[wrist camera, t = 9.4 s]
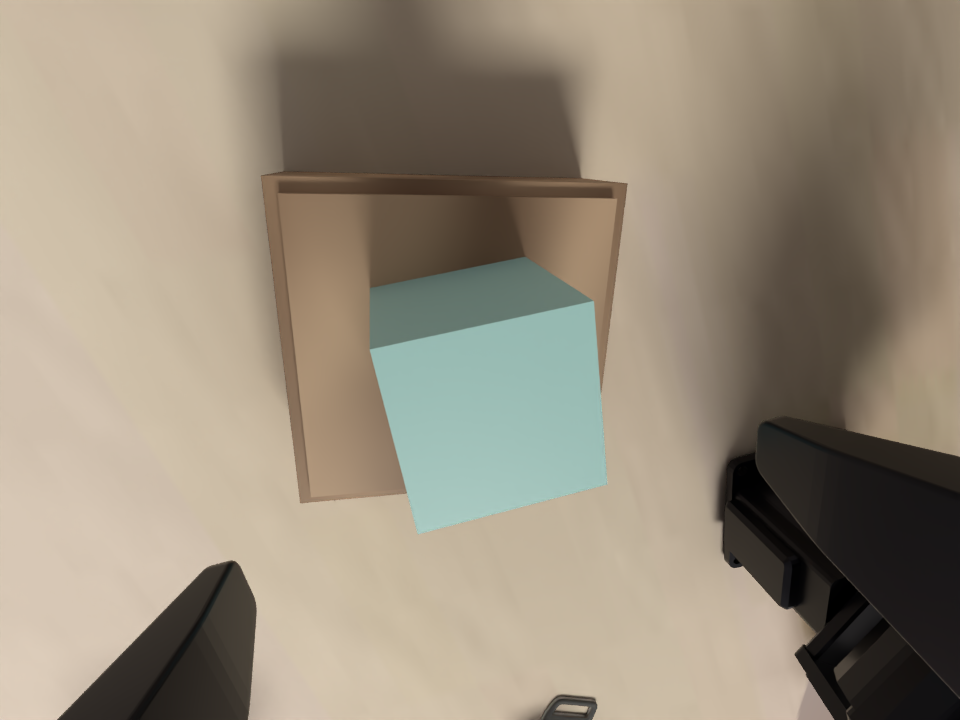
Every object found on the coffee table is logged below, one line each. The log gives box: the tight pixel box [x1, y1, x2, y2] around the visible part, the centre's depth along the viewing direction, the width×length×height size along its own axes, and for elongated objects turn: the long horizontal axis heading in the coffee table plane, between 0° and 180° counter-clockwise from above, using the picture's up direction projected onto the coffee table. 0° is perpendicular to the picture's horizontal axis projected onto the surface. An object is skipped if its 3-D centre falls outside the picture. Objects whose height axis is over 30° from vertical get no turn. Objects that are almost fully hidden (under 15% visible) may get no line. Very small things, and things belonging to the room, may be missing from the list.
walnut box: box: [261, 171, 627, 503], centre depth 18 cm, size 10×10×4 cm
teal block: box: [370, 257, 607, 534], centre depth 13 cm, size 4×4×5 cm
